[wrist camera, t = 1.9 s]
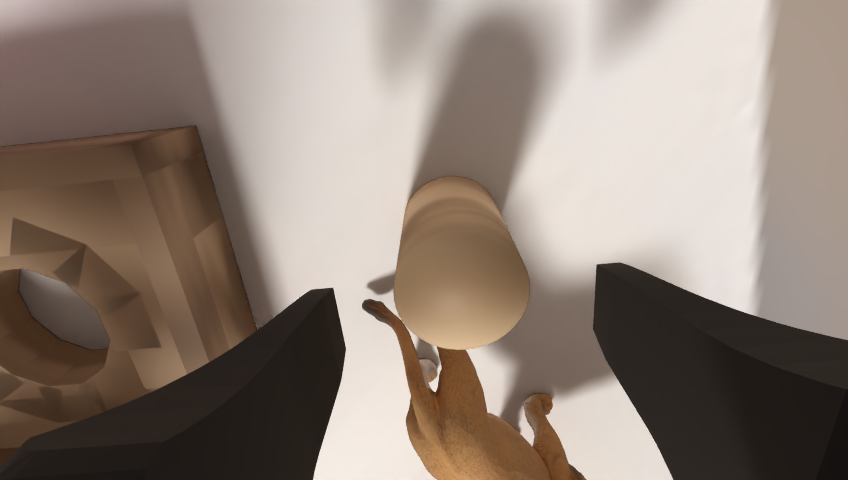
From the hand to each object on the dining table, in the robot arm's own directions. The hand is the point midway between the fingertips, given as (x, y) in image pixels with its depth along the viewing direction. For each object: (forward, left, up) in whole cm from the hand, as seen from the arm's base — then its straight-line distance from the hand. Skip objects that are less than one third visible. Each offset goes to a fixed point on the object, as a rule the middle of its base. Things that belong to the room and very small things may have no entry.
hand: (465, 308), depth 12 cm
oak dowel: (0, 0, -7) cm, 7 cm away
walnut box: (-2, +17, -7) cm, 19 cm away
